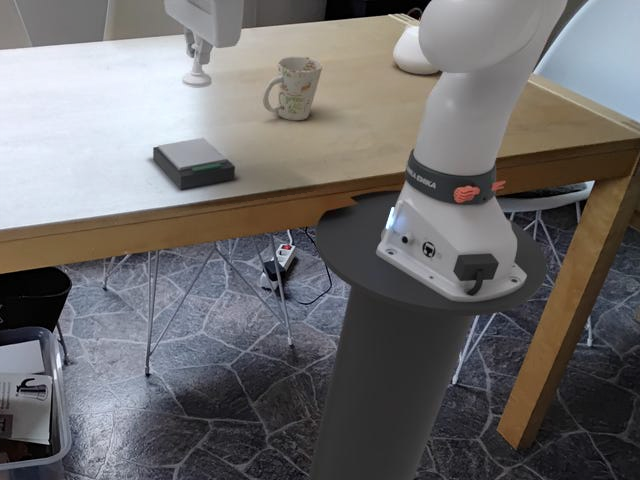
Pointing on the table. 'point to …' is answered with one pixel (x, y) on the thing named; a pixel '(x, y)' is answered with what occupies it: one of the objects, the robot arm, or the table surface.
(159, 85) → the table surface
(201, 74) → the chess piece
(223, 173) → the scale
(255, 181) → the table surface
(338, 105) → the table surface
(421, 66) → the teapot
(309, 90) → the mug
